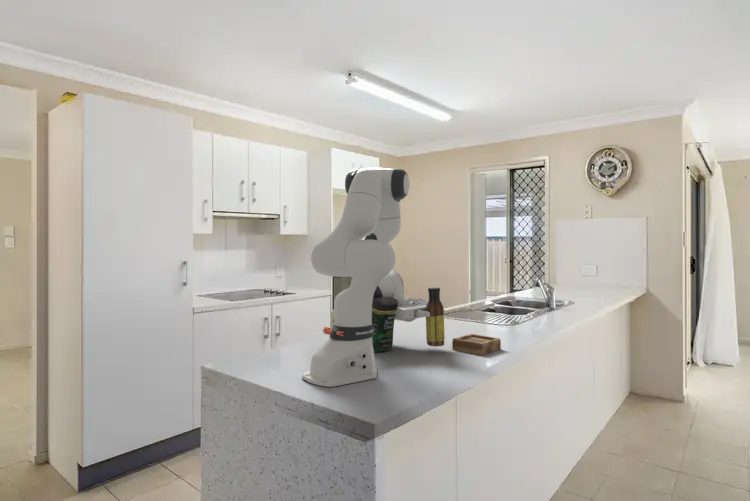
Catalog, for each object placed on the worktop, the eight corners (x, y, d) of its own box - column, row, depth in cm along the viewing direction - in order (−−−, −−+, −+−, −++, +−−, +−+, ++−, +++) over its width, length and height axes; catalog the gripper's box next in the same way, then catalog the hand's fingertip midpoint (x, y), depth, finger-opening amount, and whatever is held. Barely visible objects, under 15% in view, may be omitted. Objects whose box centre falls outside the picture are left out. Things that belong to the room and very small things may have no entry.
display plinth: (481, 355, 154) (481, 344, 154) (452, 349, 163) (452, 338, 163) (500, 349, 162) (500, 338, 162) (471, 343, 171) (471, 333, 171)
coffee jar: (375, 354, 156) (382, 302, 153) (360, 346, 162) (367, 295, 159) (396, 349, 163) (403, 299, 160) (381, 342, 168) (387, 293, 165)
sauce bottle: (444, 343, 161) (444, 286, 161) (445, 347, 155) (445, 288, 155) (425, 342, 162) (425, 286, 162) (425, 346, 156) (426, 288, 156)
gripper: (387, 302, 161) (417, 306, 151) (424, 298, 175) (454, 301, 165) (387, 321, 161) (417, 326, 151) (424, 315, 175) (454, 319, 165)
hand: (437, 313), depth 158 cm, fingers closed on sauce bottle, 6 cm apart
